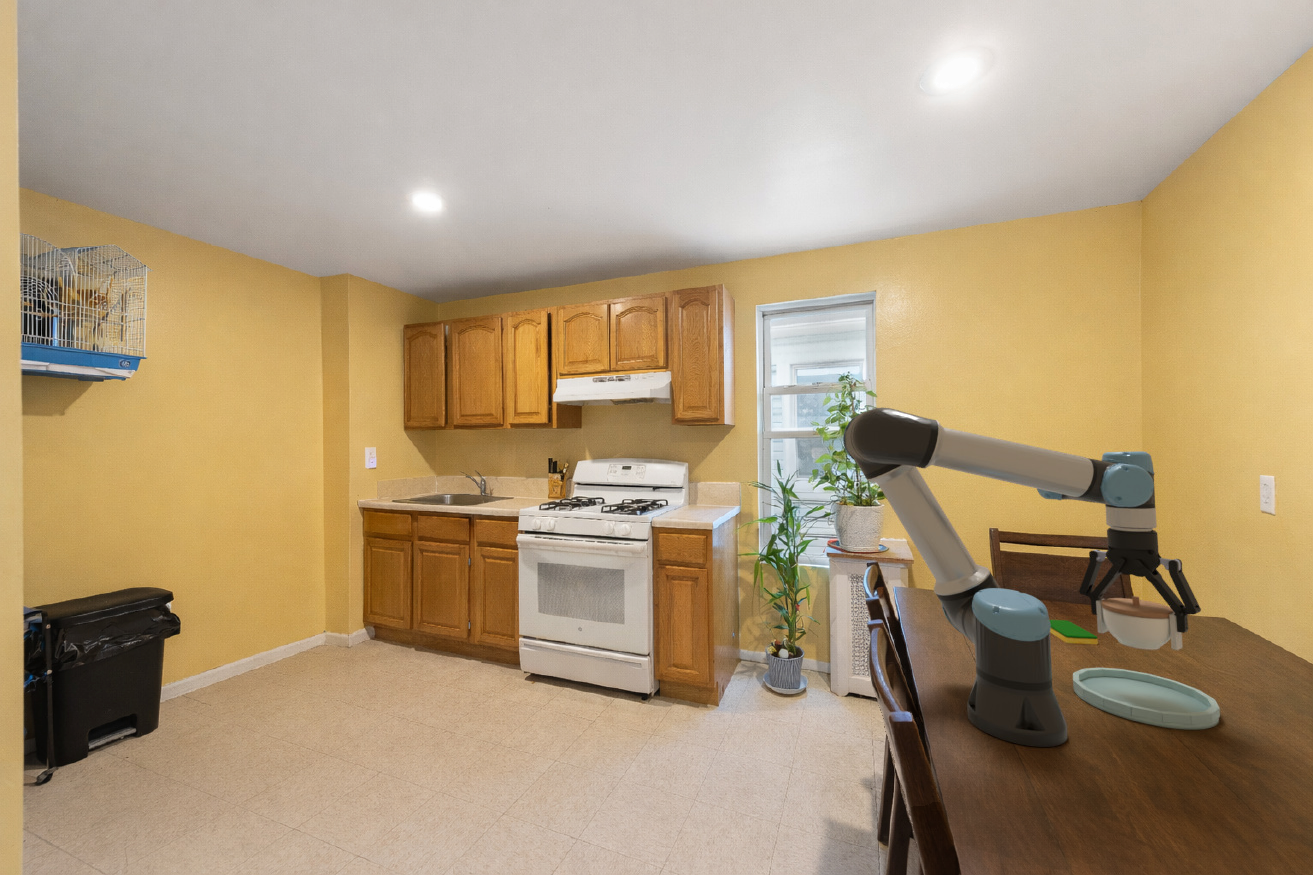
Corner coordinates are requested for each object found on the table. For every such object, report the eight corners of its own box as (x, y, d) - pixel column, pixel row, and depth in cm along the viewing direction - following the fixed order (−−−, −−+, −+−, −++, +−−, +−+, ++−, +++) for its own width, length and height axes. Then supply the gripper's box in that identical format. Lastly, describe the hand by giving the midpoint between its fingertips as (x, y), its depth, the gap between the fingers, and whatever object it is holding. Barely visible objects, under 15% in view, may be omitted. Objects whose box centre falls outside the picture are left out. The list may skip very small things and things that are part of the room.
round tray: (1194, 741, 90) (1193, 726, 90) (1053, 694, 108) (1053, 681, 108) (1236, 710, 100) (1235, 696, 100) (1100, 671, 118) (1100, 660, 118)
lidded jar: (1145, 635, 109) (1142, 589, 109) (1192, 654, 98) (1189, 604, 99) (1090, 635, 110) (1087, 590, 110) (1131, 654, 99) (1127, 604, 100)
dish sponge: (1068, 628, 148) (1068, 620, 148) (1098, 646, 134) (1098, 636, 135) (1040, 627, 150) (1039, 618, 150) (1067, 644, 136) (1066, 635, 136)
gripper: (1220, 533, 97) (1228, 654, 96) (1072, 521, 117) (1078, 621, 116) (1205, 537, 93) (1213, 662, 92) (1055, 524, 113) (1061, 627, 113)
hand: (1138, 639), depth 104 cm, fingers closed on lidded jar, 11 cm apart
